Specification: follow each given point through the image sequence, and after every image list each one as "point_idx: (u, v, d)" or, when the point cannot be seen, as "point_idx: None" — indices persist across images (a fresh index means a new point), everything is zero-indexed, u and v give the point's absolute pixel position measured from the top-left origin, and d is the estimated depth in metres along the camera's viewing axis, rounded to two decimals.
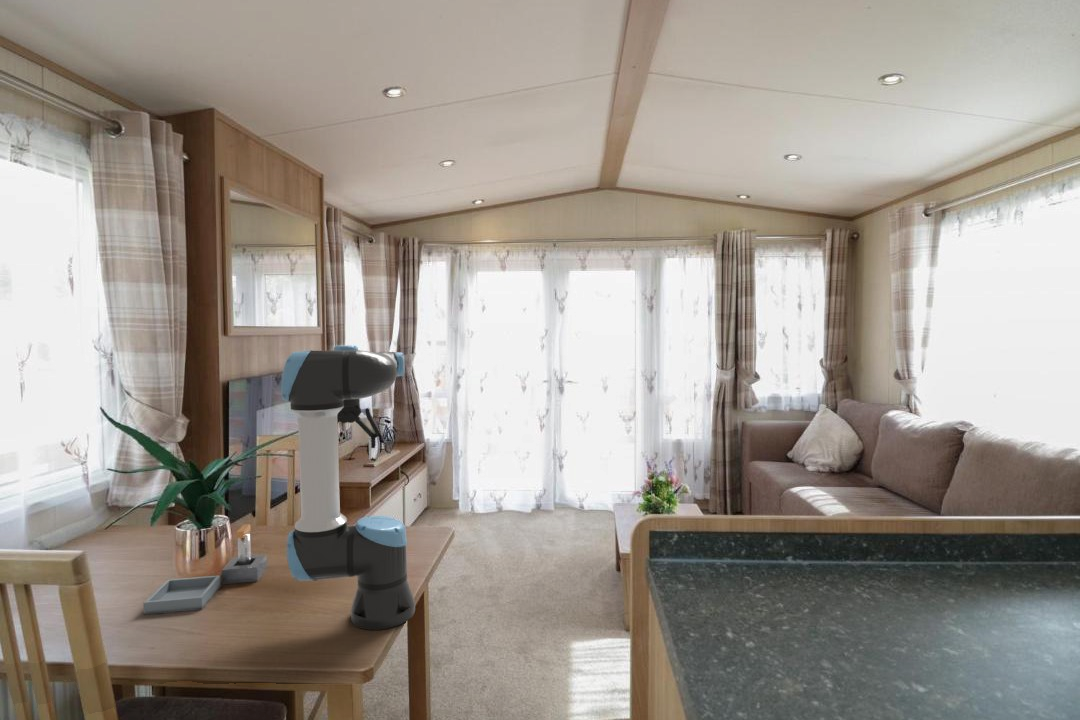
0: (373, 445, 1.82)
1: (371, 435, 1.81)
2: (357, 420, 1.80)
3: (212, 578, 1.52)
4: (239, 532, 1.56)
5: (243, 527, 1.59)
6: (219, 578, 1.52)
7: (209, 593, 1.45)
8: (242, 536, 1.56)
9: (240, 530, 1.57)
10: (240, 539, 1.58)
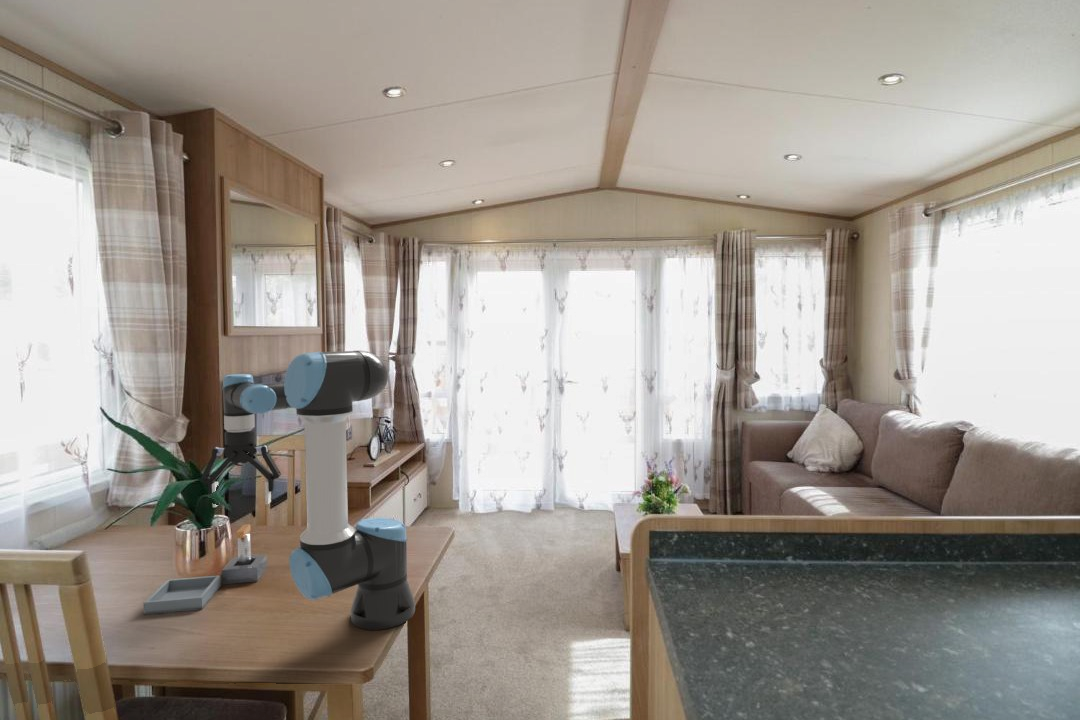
0: (271, 488, 1.59)
1: (268, 477, 1.58)
2: (251, 460, 1.57)
3: (212, 578, 1.52)
4: (239, 532, 1.56)
5: (243, 527, 1.59)
6: (219, 578, 1.52)
7: (209, 593, 1.45)
8: (242, 536, 1.56)
9: (240, 530, 1.57)
10: (240, 539, 1.58)
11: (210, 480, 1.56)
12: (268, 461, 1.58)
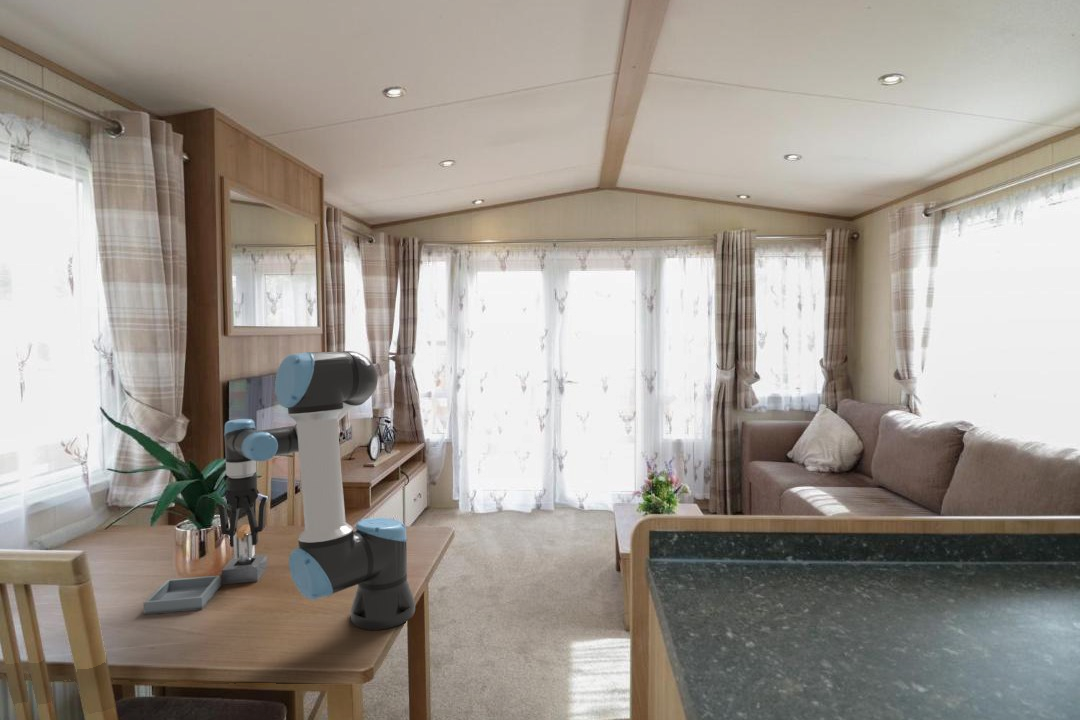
0: (254, 542, 1.59)
1: (252, 530, 1.58)
2: (247, 508, 1.57)
3: (212, 578, 1.52)
4: (239, 532, 1.56)
5: (243, 527, 1.59)
6: (219, 578, 1.52)
7: (209, 593, 1.45)
8: (242, 536, 1.56)
9: (240, 530, 1.57)
10: (240, 539, 1.58)
11: (231, 532, 1.57)
12: (261, 513, 1.59)
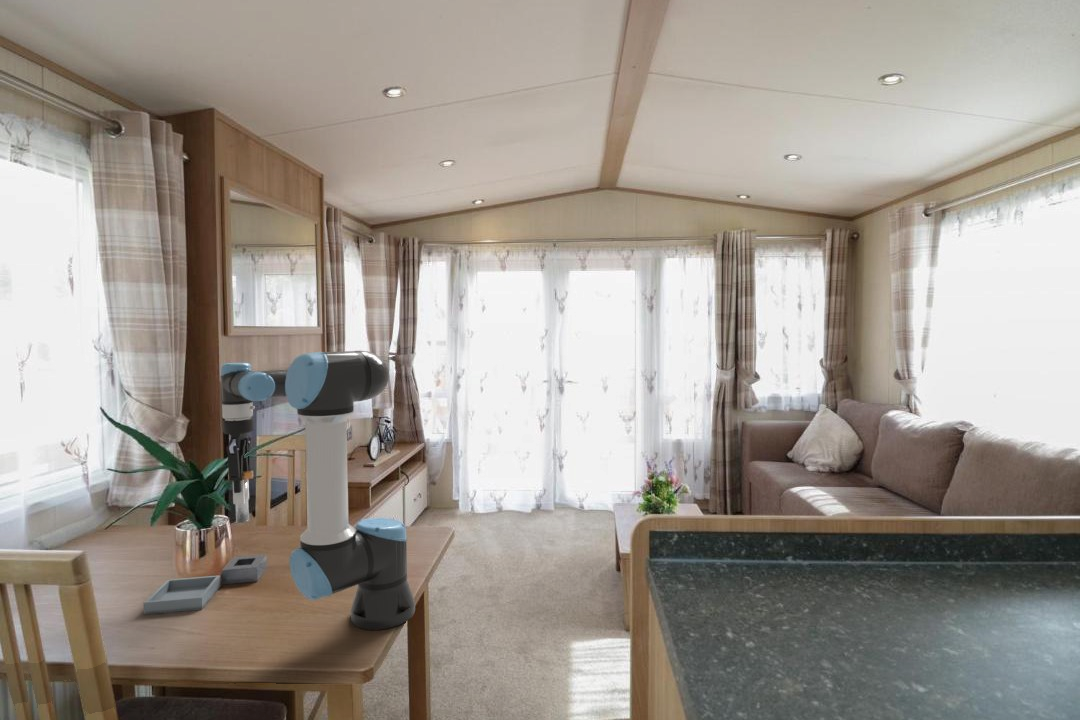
0: None
1: None
2: None
3: (212, 578, 1.52)
4: None
5: None
6: (219, 578, 1.52)
7: (209, 593, 1.45)
8: None
9: None
10: None
11: None
12: None
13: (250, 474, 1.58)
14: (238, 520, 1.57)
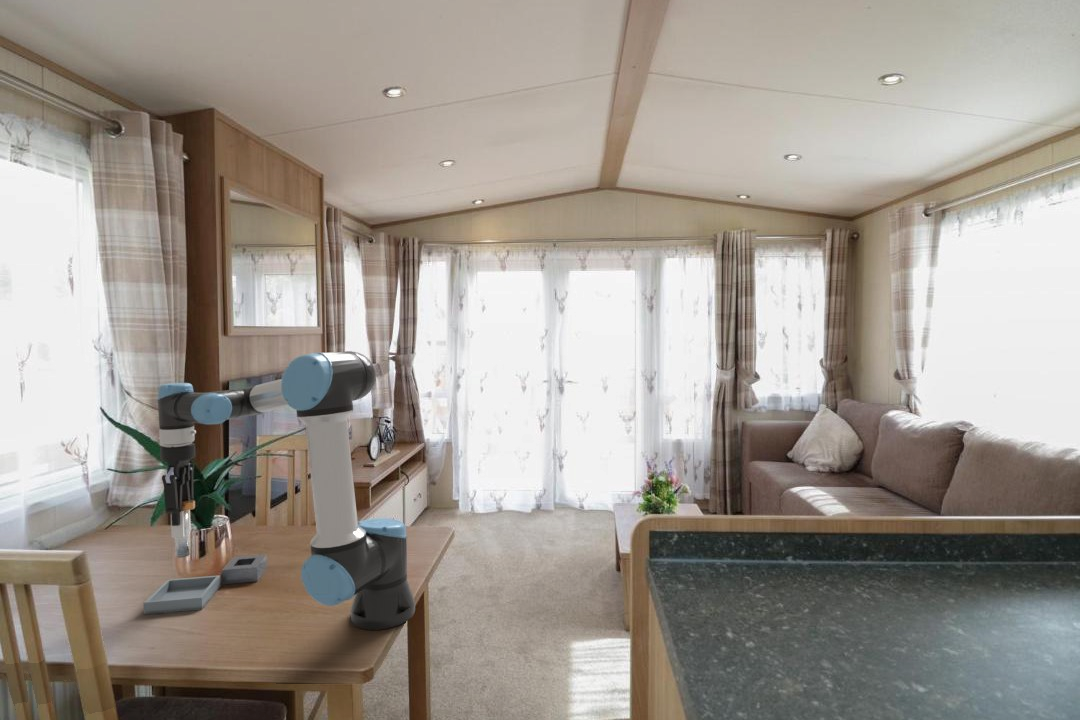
0: None
1: None
2: None
3: (212, 578, 1.52)
4: None
5: (182, 502, 1.45)
6: (219, 578, 1.52)
7: (209, 593, 1.45)
8: None
9: None
10: None
11: None
12: None
13: (191, 504, 1.44)
14: (177, 555, 1.44)
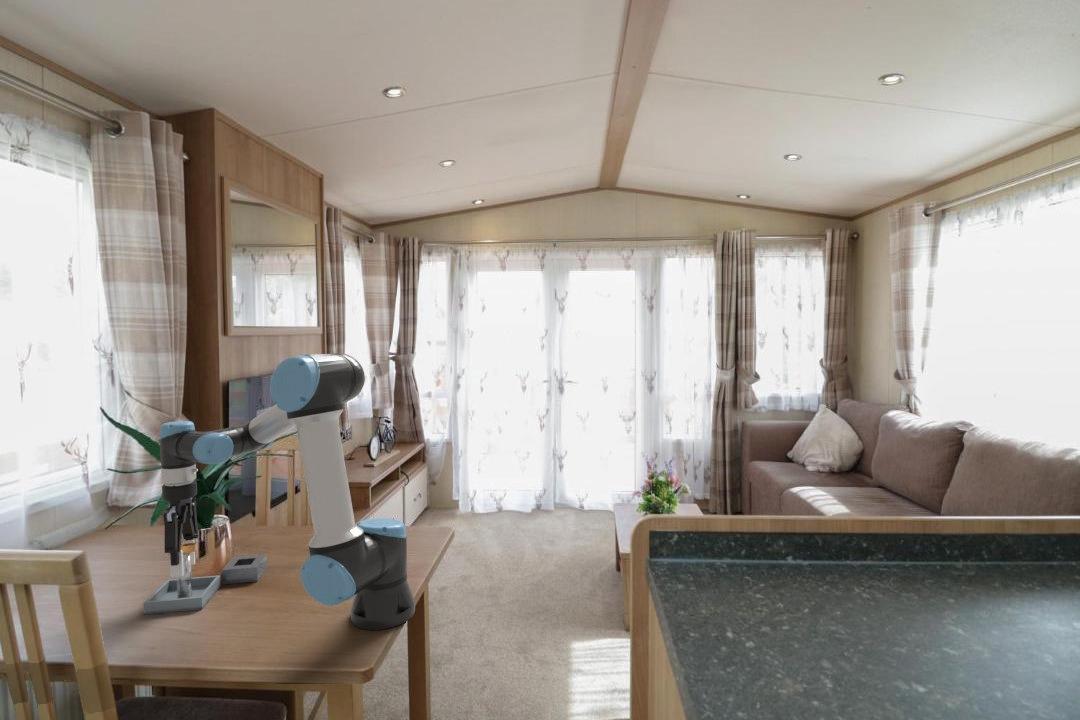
0: None
1: None
2: None
3: (212, 578, 1.52)
4: None
5: (184, 544, 1.45)
6: (219, 578, 1.52)
7: (209, 593, 1.45)
8: None
9: None
10: None
11: None
12: None
13: (193, 547, 1.45)
14: (179, 597, 1.44)
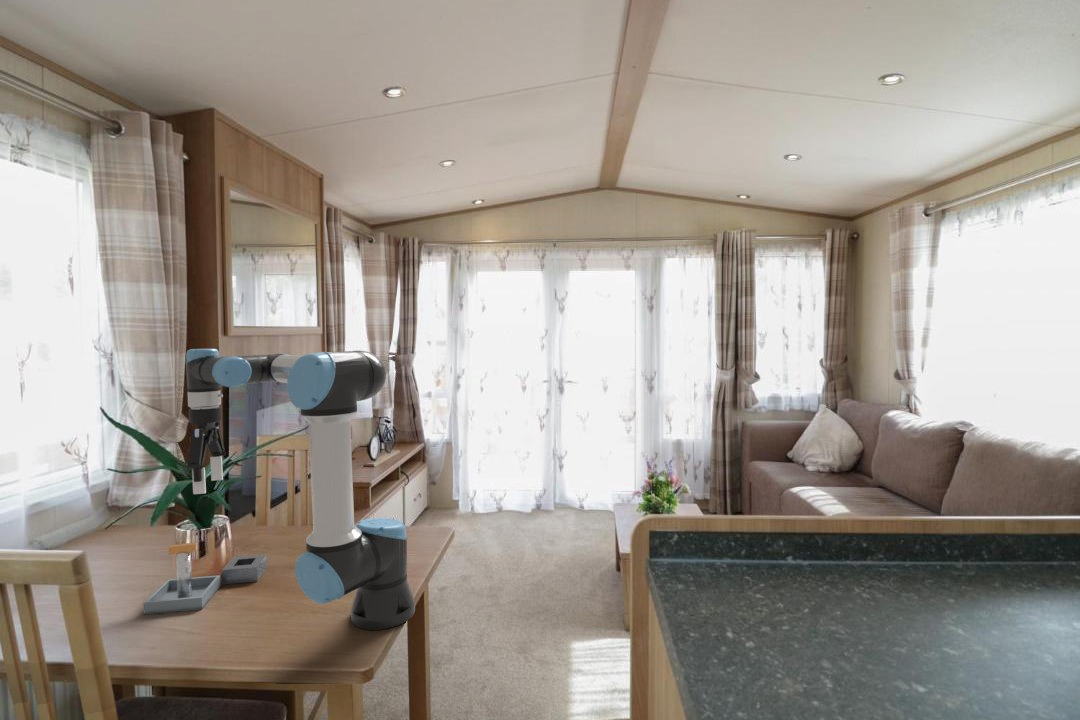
0: None
1: None
2: None
3: (212, 578, 1.52)
4: None
5: (184, 544, 1.45)
6: (219, 578, 1.52)
7: (209, 593, 1.45)
8: None
9: (174, 545, 1.45)
10: None
11: None
12: None
13: (193, 547, 1.45)
14: (179, 597, 1.44)
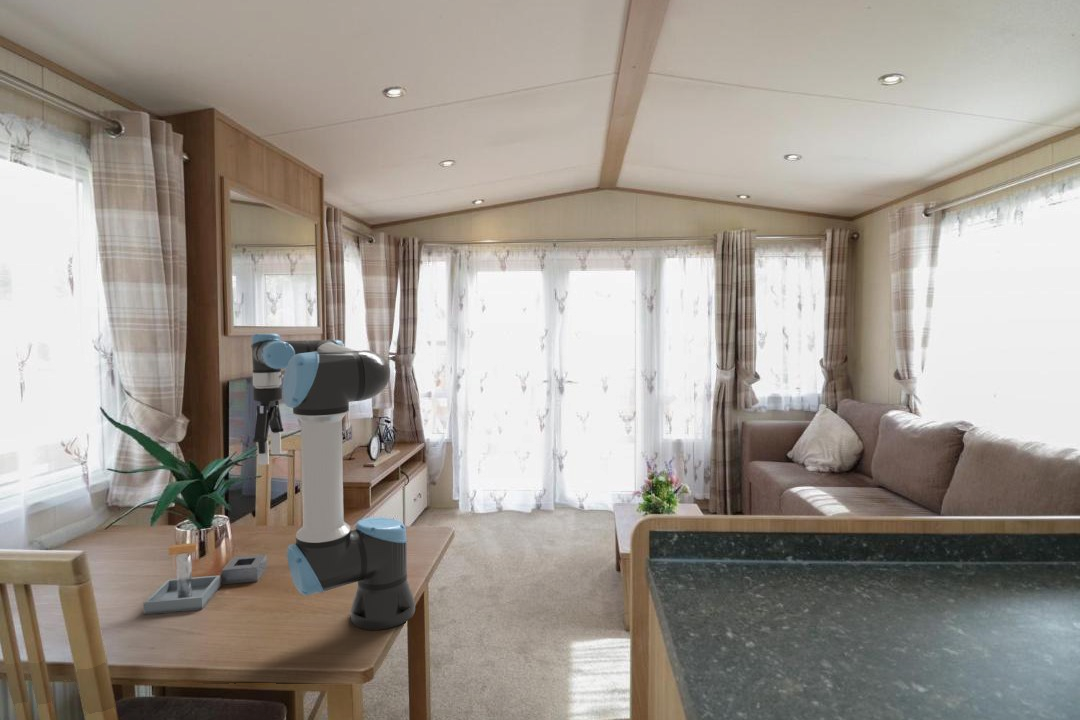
0: None
1: None
2: None
3: (212, 578, 1.52)
4: (170, 547, 1.44)
5: (185, 544, 1.45)
6: (219, 578, 1.52)
7: (209, 593, 1.45)
8: None
9: (174, 545, 1.44)
10: None
11: None
12: None
13: (194, 547, 1.45)
14: (180, 597, 1.44)
